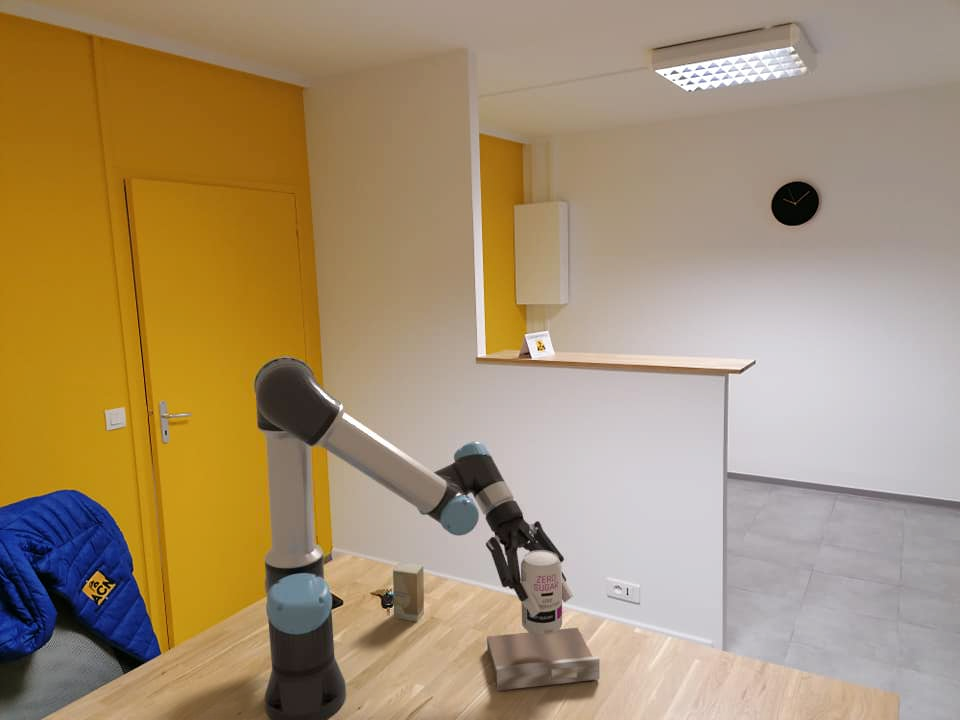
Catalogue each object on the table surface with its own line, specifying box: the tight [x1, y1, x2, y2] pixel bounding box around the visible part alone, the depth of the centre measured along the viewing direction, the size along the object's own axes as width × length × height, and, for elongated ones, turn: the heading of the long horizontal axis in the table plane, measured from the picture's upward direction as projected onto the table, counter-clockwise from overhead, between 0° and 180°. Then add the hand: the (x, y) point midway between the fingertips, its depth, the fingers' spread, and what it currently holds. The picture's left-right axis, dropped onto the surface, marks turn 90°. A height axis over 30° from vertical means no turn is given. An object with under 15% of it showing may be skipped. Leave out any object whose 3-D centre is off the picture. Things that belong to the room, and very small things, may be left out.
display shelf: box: [486, 627, 600, 691], centre depth 144 cm, size 20×15×5 cm
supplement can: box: [520, 550, 563, 636], centre depth 142 cm, size 8×8×15 cm
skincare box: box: [392, 562, 425, 622], centre depth 164 cm, size 6×4×12 cm
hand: (552, 606), depth 139 cm, fingers closed on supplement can, 8 cm apart
